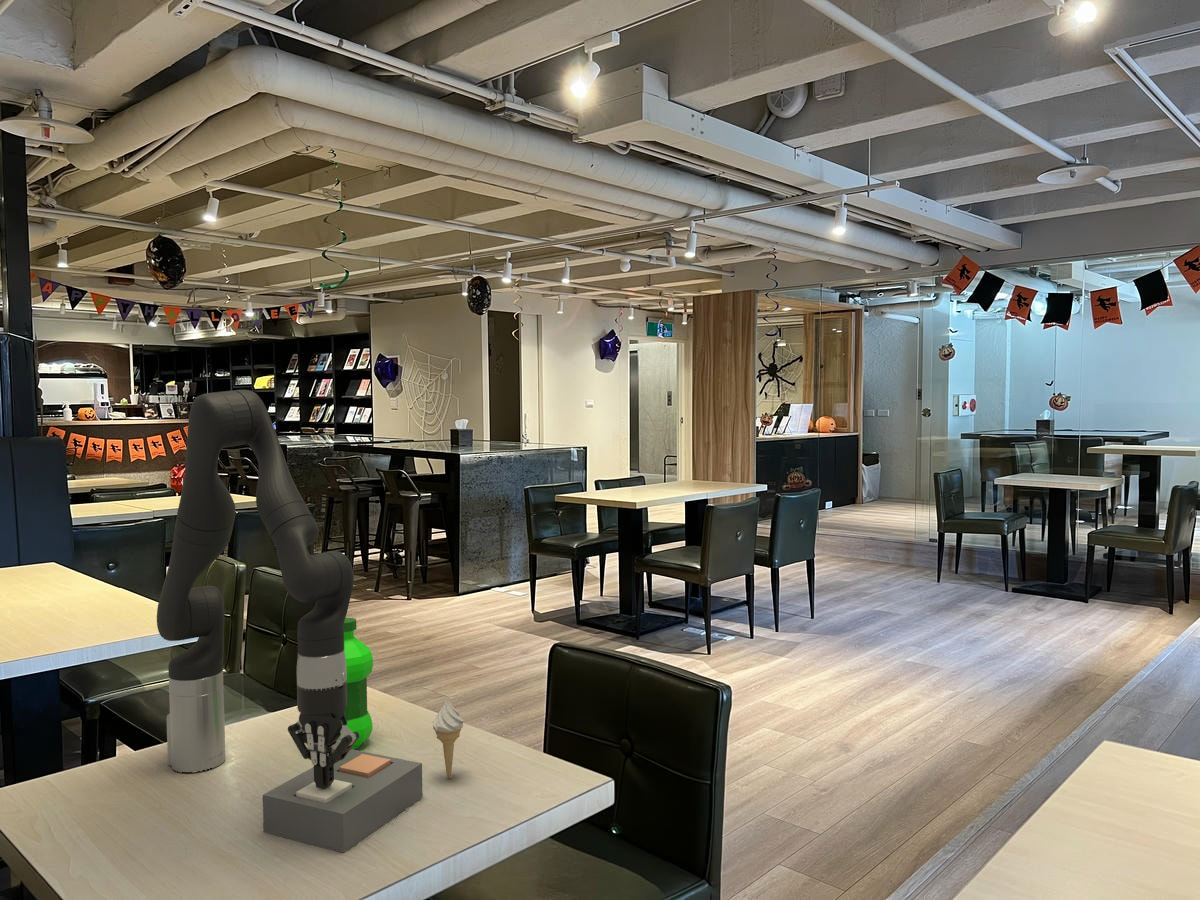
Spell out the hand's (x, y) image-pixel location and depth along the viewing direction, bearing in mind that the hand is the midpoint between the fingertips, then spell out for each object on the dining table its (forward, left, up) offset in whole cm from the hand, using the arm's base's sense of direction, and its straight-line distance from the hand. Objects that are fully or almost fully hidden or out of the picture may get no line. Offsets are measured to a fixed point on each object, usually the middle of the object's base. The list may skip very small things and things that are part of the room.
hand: (324, 786), depth 139 cm
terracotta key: (0, +10, -3) cm, 11 cm away
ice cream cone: (+8, +23, -7) cm, 25 cm away
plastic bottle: (-19, +28, -7) cm, 35 cm away
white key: (0, 0, -3) cm, 3 cm away
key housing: (0, +5, -7) cm, 8 cm away
